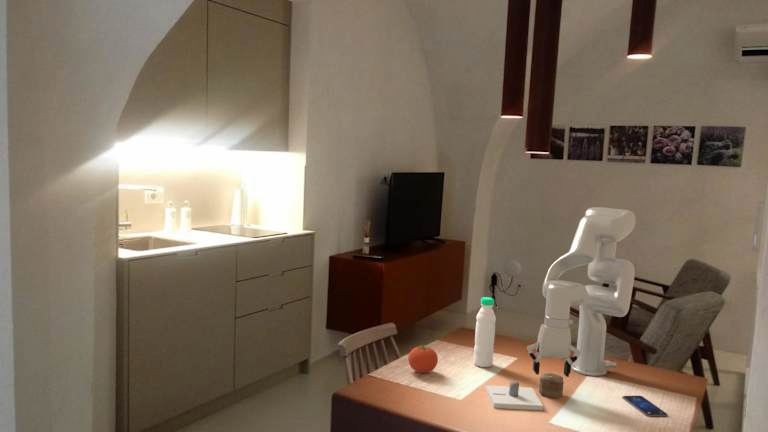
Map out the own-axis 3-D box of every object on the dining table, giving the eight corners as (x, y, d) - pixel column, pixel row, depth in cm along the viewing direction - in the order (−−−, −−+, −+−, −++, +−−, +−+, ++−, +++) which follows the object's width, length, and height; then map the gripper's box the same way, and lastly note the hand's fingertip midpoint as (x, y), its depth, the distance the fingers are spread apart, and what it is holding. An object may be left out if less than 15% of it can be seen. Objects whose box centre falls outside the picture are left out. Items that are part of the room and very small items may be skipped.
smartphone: (647, 415, 179) (620, 395, 193) (647, 418, 179) (620, 398, 193) (669, 414, 180) (641, 395, 194) (669, 417, 180) (641, 397, 195)
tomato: (435, 367, 211) (437, 340, 210) (437, 378, 201) (439, 350, 200) (407, 366, 211) (408, 339, 210) (407, 376, 201) (409, 348, 200)
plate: (531, 392, 193) (532, 375, 193) (542, 410, 179) (544, 392, 179) (485, 389, 193) (486, 373, 193) (493, 407, 179) (494, 390, 179)
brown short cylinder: (558, 390, 196) (559, 373, 195) (564, 399, 189) (565, 381, 188) (537, 389, 196) (538, 372, 195) (542, 398, 189) (544, 380, 188)
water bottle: (469, 362, 219) (474, 296, 216) (485, 360, 222) (489, 295, 219) (480, 369, 213) (485, 300, 210) (496, 367, 216) (501, 299, 213)
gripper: (579, 321, 194) (574, 372, 195) (526, 317, 194) (521, 368, 195) (587, 327, 186) (581, 380, 187) (532, 323, 186) (527, 376, 187)
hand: (551, 374), depth 191 cm, fingers open, 9 cm apart
